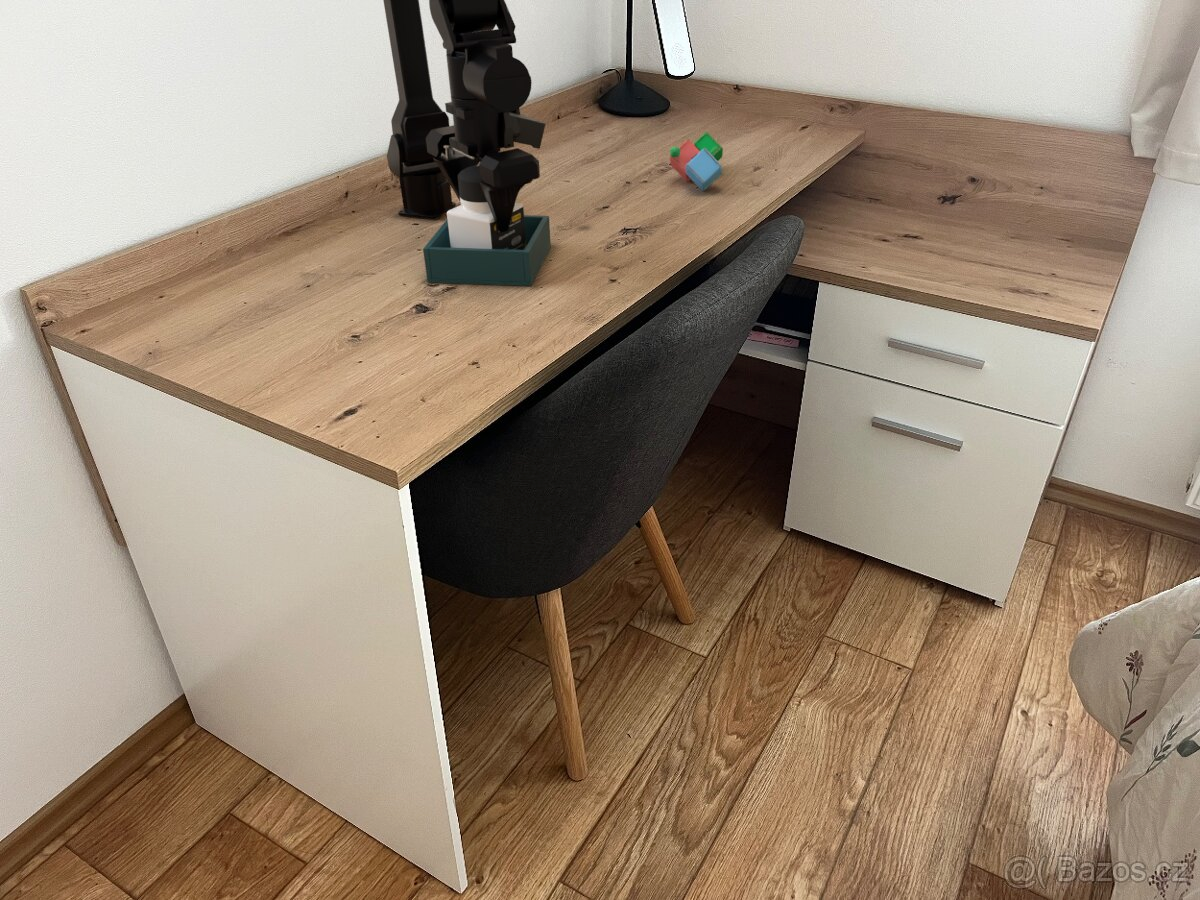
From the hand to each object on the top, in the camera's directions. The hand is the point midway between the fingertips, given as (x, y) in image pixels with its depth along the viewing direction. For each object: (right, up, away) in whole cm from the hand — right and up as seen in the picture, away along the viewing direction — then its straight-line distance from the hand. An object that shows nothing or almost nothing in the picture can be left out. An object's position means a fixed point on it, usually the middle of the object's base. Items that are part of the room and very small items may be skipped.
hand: (486, 221), depth 120 cm
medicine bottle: (0, -5, +3) cm, 6 cm away
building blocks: (+31, +13, +30) cm, 45 cm away
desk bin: (0, -5, +3) cm, 6 cm away
